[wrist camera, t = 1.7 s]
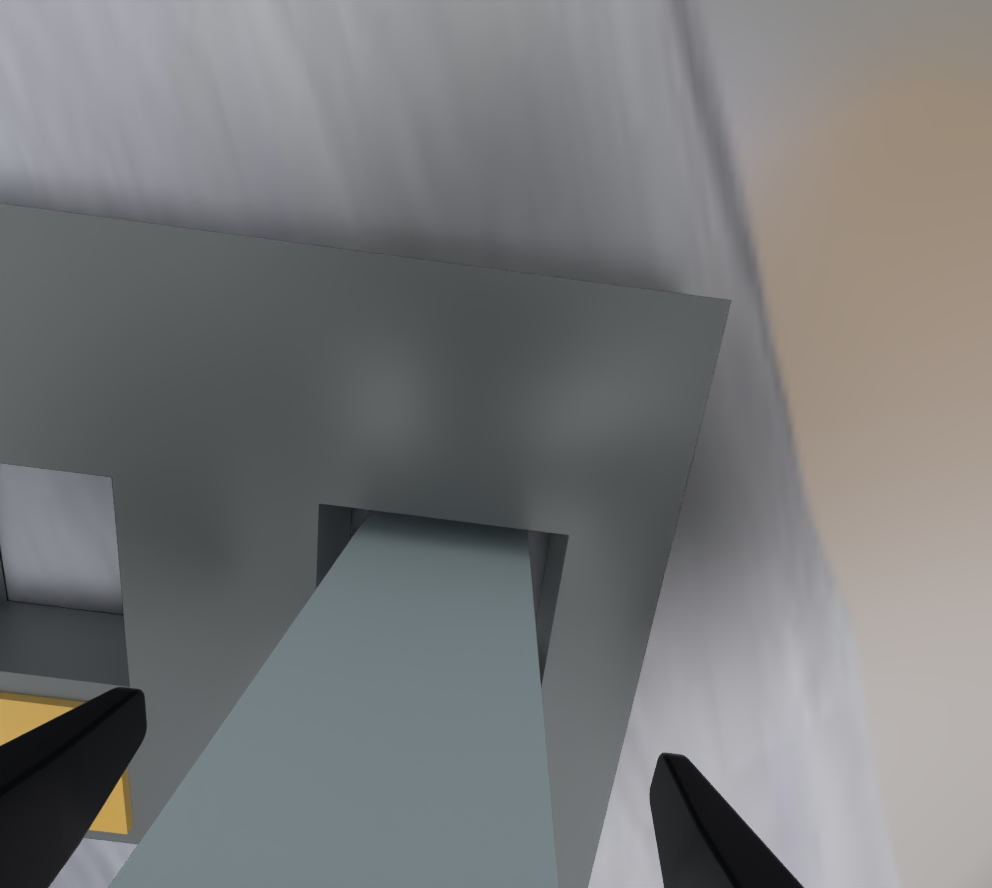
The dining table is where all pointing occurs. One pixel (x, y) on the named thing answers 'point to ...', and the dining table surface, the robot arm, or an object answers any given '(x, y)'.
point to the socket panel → (335, 466)
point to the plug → (380, 732)
